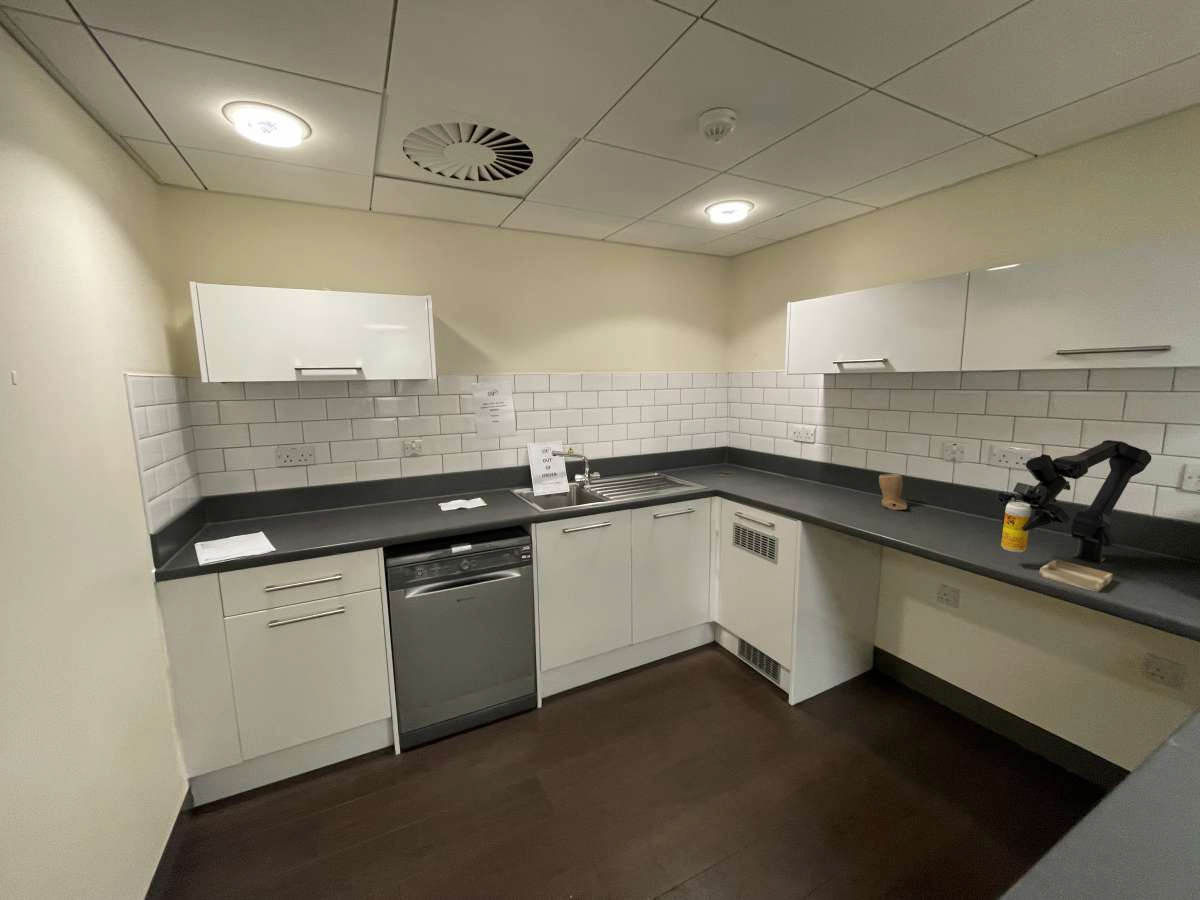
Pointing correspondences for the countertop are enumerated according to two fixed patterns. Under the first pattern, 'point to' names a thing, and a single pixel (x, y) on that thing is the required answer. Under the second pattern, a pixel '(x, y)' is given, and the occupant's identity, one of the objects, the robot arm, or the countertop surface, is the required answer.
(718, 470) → the countertop surface
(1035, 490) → the robot arm
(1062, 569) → the holder tray
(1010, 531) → the yellow orange canister
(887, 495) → the tan boot
